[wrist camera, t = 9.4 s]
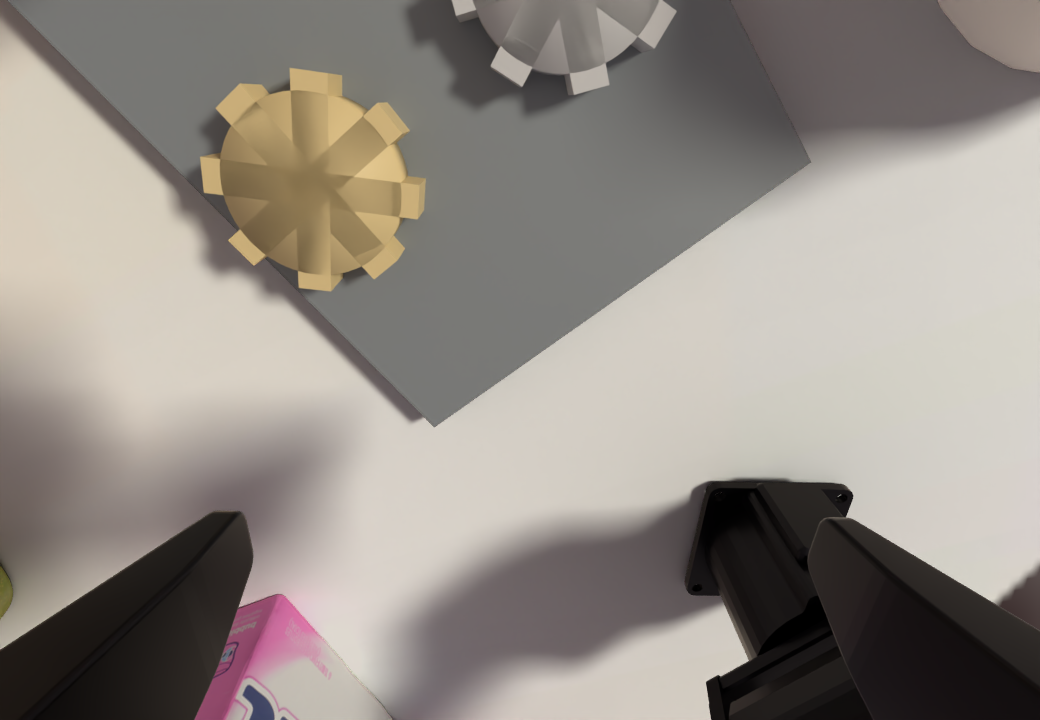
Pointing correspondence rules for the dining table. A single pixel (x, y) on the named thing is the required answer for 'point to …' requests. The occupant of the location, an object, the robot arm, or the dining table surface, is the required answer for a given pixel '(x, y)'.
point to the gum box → (283, 672)
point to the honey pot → (1000, 29)
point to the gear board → (446, 154)
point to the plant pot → (5, 592)
